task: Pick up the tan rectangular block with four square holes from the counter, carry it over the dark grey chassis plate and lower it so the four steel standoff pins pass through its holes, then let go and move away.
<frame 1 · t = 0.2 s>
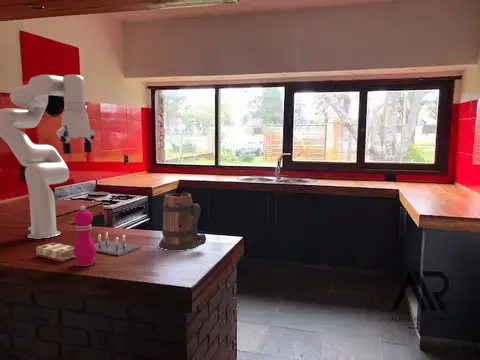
hand: (77, 153, 155), 36 cm above the table, tool pointing down, fingers open, 9 cm apart
tankard: (184, 246, 155), on the table
chassis: (112, 249, 152), on the table
pepper mill: (85, 264, 134), on the table
tan rectangular block: (57, 256, 143), on the table
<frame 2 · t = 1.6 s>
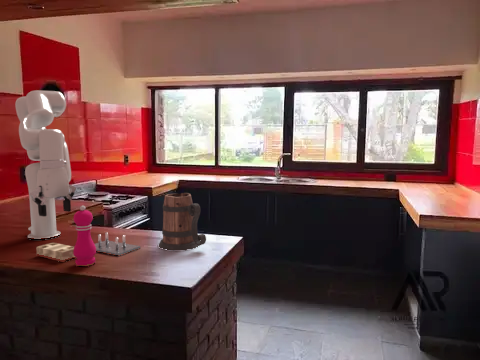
hand: (55, 213, 140), 16 cm above the table, tool pointing down, fingers open, 9 cm apart
nothing on the table moved.
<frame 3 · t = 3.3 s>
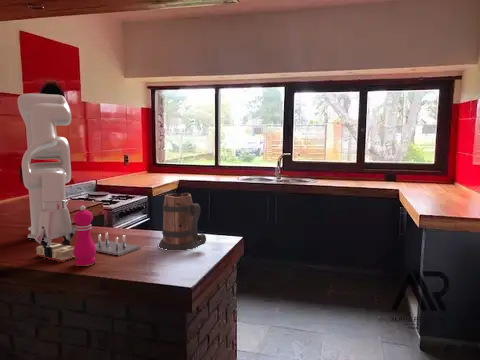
hand: (57, 254, 142), 1 cm above the table, tool pointing down, fingers closed on tan rectangular block, 6 cm apart
tan rectangular block: (57, 256, 143), on the table, touching gripper
everything else where it was.
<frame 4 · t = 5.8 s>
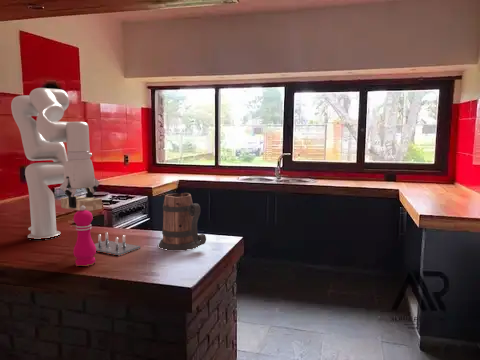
hand: (81, 205, 145), 18 cm above the table, tool pointing down, fingers closed on tan rectangular block, 6 cm apart
tan rectangular block: (81, 208, 145), point 17 cm above the table, touching gripper
everything else where it was.
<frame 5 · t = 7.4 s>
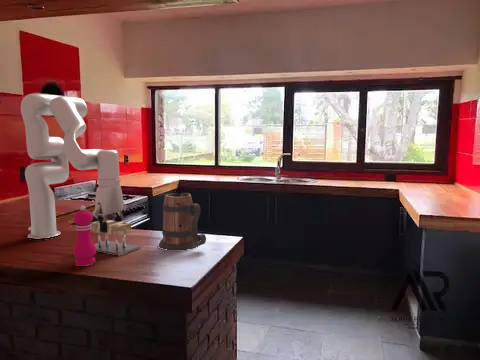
hand: (111, 229, 151), 8 cm above the table, tool pointing down, fingers closed on tan rectangular block, 6 cm apart
tan rectangular block: (111, 232, 151), point 7 cm above the table, touching gripper
everything else where it was.
when the fingers open (4 cm above the table, at t = 8.6 s): tan rectangular block drops 2 cm, resting on chassis.
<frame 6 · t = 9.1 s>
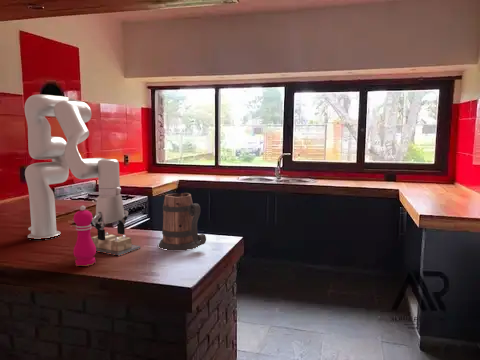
hand: (111, 236, 151), 5 cm above the table, tool pointing down, fingers open, 9 cm apart
tan rectangular block: (111, 246, 151), point 1 cm above the table, touching chassis
everything else where it was.
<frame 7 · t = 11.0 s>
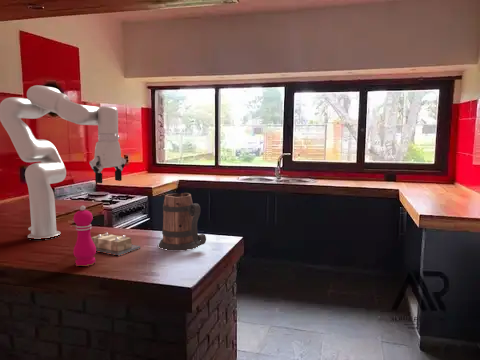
hand: (108, 181, 159), 25 cm above the table, tool pointing down, fingers open, 9 cm apart
nothing on the table moved.
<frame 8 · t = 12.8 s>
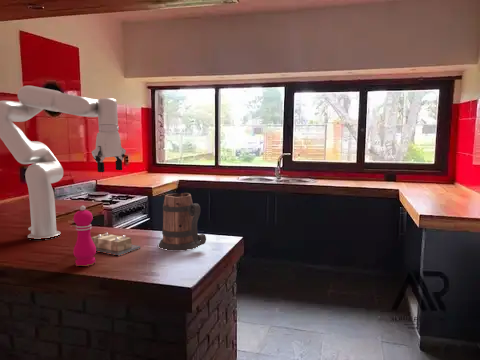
hand: (110, 171, 165), 28 cm above the table, tool pointing down, fingers open, 9 cm apart
nothing on the table moved.
at the end: tan rectangular block 0.1 cm off-centre on the chassis, point 1.0 cm above the chassis's base; tan rectangular block tilted 0°; the gripper is holding nothing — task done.
